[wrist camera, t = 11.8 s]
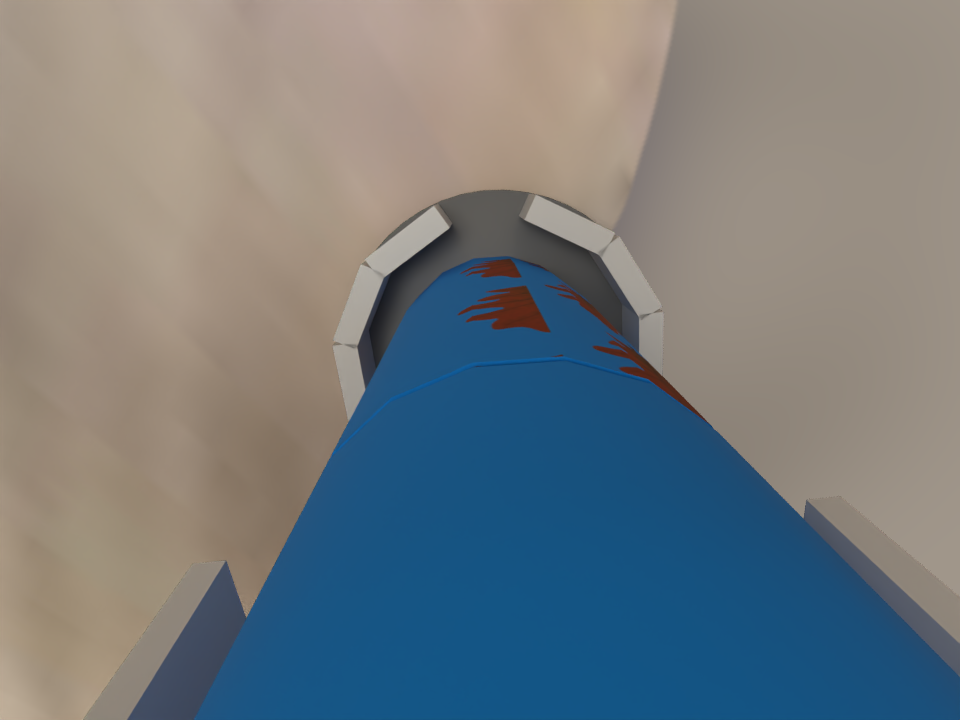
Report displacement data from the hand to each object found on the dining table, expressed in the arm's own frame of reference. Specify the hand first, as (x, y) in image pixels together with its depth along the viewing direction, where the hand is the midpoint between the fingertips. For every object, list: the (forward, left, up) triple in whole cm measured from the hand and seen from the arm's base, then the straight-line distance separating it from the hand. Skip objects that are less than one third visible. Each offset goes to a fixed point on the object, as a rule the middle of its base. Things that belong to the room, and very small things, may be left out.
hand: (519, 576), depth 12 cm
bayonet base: (0, 0, -19) cm, 19 cm away
